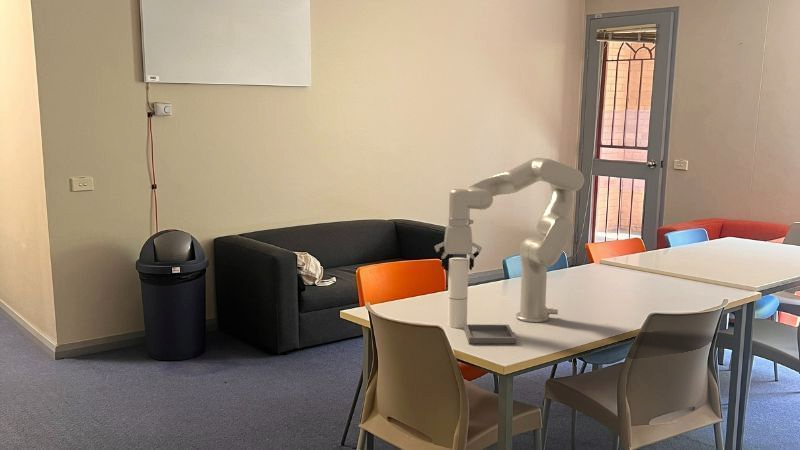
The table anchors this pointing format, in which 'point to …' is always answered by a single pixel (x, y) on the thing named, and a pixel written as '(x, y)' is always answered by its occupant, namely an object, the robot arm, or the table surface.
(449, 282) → the cylindrical container
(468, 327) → the desk tray
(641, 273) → the table surface
